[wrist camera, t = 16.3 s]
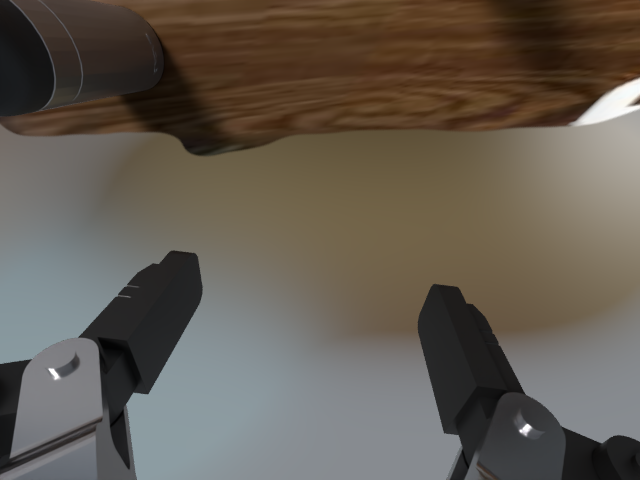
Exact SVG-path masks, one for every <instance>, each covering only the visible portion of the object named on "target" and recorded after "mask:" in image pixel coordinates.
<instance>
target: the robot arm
mask: <svg viewBox="0 0 640 480" xmlns="http://www.w3.org/2000/svg"><path fill="white" fill-rule="evenodd" d="M163 68H164V57H163V52H162V48H161V45H160V42H159V40H158V38H157V36H156V34H155V33H154V31H153V29H152V28H151V27H150V25H149V24H148V23H147V22H146V21H145V20H144V19H143V18H142V17H141V16H140V15H138V14H137V13H135V12H133V11H132V10H130V9H127V8H124V7H121V6H116V5H110V4H105V3H100V2H95V1H90V0H0V116H15V115H22V114H27V113H32V112H36V111H42V110H47V109H52V108H57V107H61V106H66V105H71V104H77V103H82V102H87V101H92V100H97V99H102V98H107V97H113V96H118V95H123V94H129V93H134V92H139V91H144V90H148V89H150V88H152V87H154V86H155V85H156V84H157V83H158V82H159V80H160V79H161V76H162V73H163ZM201 297H202V282H201V274H200V268H199V262H198V257H197V255H196V254H195V253H189V252H180V251H170V252H169V253H168V254H167V255H166V257H165V258H164V259H163V260H162V261H161V262H160V264H152V265H150V266H148V267H146V268H145V269H143V270H141V271H140V272H138V273H137V274H136V275H135V276H134V277H133V278H132V280H131V281H130V282H129V283H128V284H127V287H124V288H123V289H122V290H121V292H120V293H119V294H118V297H115V298H114V299H113V300H112V301H111V302H110V304H109V305H108V306H107V307H106V308H105V309H104V310H103V311H102V312H101V313H100V314H99V316H98V317H97V318H96V319H95V320H94V321H93V322H92V323H91V324H90V325H89V327H88V328H87V329H86V330H85V331H84V332H83V333H82V334H81V335H80V336H79V337H78V338H72V339H67V340H63V341H61V342H58V343H56V344H54V345H51V346H50V347H48V348H46V349H44V350H43V351H42V352H40V353H39V354H38V355H37V356H35V357H34V358H33V359H31V360H24V361H18V362H11V363H4V364H0V480H137V478H136V473H135V466H134V459H133V450H132V442H131V434H130V427H129V419H128V411H127V406H126V403H127V402H128V400H129V399H130V397H131V395H132V394H133V393H141V394H149V392H150V390H151V388H152V387H153V385H154V383H155V381H156V380H157V378H158V376H159V374H160V372H161V371H162V369H163V367H164V365H165V364H166V362H167V360H168V358H169V357H170V355H171V353H172V351H173V350H174V348H175V346H176V344H177V342H178V341H179V339H180V337H181V335H182V334H183V332H184V330H185V328H186V327H187V325H188V323H189V321H190V319H191V318H192V316H193V314H194V312H195V311H196V309H197V307H198V305H199V303H200V300H201ZM418 333H419V337H420V341H421V345H422V349H423V353H424V356H425V361H426V365H427V368H428V372H429V376H430V380H431V384H432V388H433V392H434V396H435V400H436V403H437V407H438V411H439V415H440V419H441V423H442V427H443V431H444V433H446V434H454V435H459V437H460V441H461V444H462V446H461V447H460V449H459V451H458V453H457V455H456V458H455V461H454V463H453V465H452V467H451V470H450V472H449V474H448V477H447V479H446V480H640V442H639V441H637V440H635V439H632V438H630V437H626V436H620V435H617V436H613V437H611V438H609V439H608V440H607V441H605V442H604V443H602V444H601V443H599V442H597V441H594V440H592V439H590V438H587V437H585V436H582V435H580V434H578V433H575V432H573V431H570V430H568V429H566V428H564V427H562V426H560V424H559V422H558V421H557V419H556V418H555V417H554V415H553V414H552V413H551V412H550V411H549V410H548V409H547V408H546V407H545V406H543V405H542V404H541V403H539V402H538V401H537V400H535V399H533V398H531V397H529V396H527V395H526V394H525V393H524V391H523V389H522V387H521V385H520V383H519V381H518V379H517V377H516V375H515V373H514V372H513V370H512V368H511V366H510V364H509V362H508V360H507V358H506V356H505V354H504V352H503V350H502V349H501V347H500V346H499V345H498V341H497V339H496V337H495V335H494V334H492V329H491V327H490V325H489V323H488V322H487V320H486V318H485V316H483V314H482V313H481V312H480V311H479V310H478V309H477V308H476V307H475V306H474V305H473V304H466V302H465V299H464V297H463V295H462V293H461V291H460V289H459V288H458V287H454V286H446V285H439V284H433V286H432V287H431V288H430V290H429V293H428V295H427V298H426V300H425V303H424V305H423V307H422V310H421V312H420V315H419V319H418Z"/></svg>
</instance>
